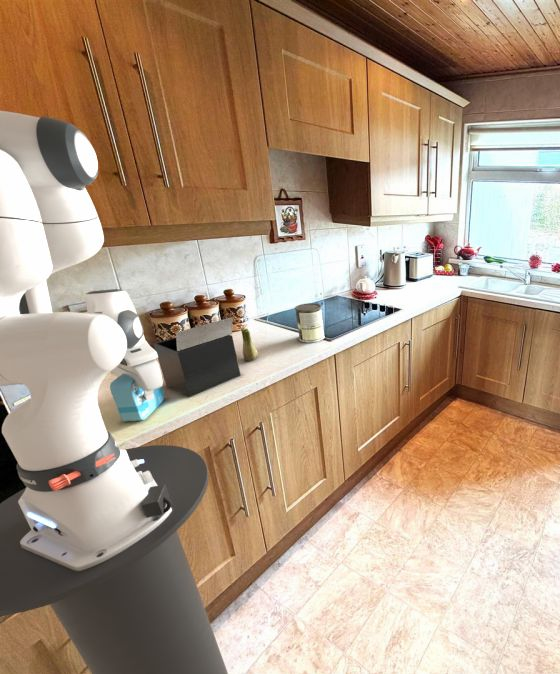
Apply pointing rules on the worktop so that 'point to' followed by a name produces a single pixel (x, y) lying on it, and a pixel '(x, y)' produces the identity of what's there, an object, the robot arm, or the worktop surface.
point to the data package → (133, 399)
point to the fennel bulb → (248, 346)
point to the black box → (197, 364)
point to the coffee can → (310, 322)
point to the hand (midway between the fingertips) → (141, 394)
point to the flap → (203, 333)
